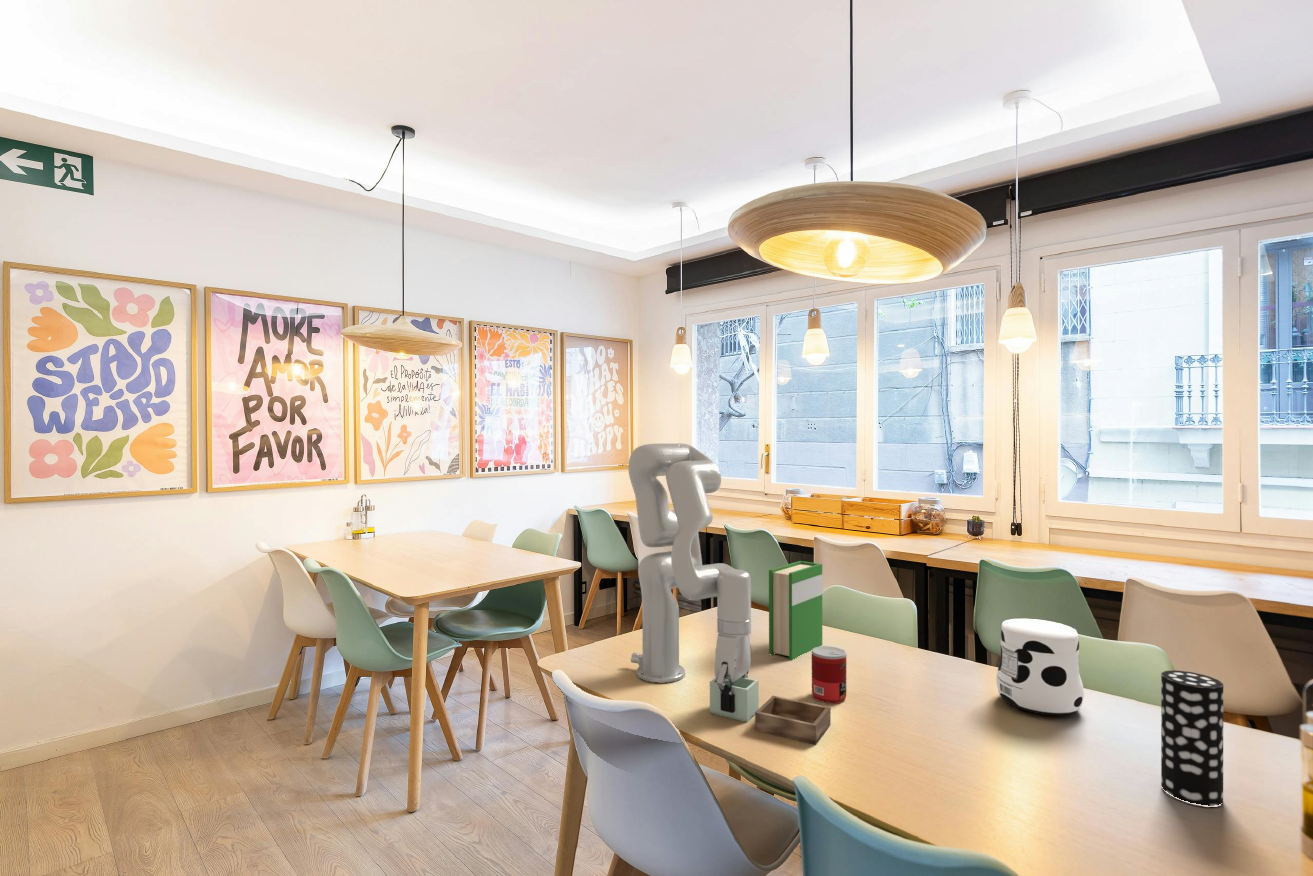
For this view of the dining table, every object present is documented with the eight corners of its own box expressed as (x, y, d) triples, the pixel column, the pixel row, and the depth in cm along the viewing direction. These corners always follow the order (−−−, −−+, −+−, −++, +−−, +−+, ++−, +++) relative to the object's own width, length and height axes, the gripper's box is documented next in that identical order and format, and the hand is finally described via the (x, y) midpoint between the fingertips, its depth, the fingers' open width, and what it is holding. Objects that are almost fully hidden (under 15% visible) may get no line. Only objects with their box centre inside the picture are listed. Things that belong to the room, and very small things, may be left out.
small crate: (709, 713, 148) (709, 682, 148) (722, 703, 154) (722, 673, 154) (747, 722, 144) (747, 690, 144) (758, 711, 149) (758, 680, 149)
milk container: (1091, 705, 152) (1090, 626, 152) (1074, 729, 140) (1074, 644, 139) (1008, 685, 164) (1008, 613, 164) (986, 707, 151) (986, 628, 151)
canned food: (847, 705, 153) (847, 657, 153) (812, 702, 154) (812, 655, 154) (845, 692, 160) (845, 647, 160) (811, 690, 162) (811, 645, 162)
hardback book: (792, 660, 183) (791, 573, 183) (769, 654, 188) (768, 570, 188) (822, 645, 196) (822, 564, 196) (800, 640, 201) (799, 561, 201)
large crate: (755, 730, 140) (755, 712, 140) (772, 712, 149) (772, 695, 149) (815, 744, 133) (815, 726, 133) (830, 725, 142) (830, 707, 142)
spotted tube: (1149, 783, 118) (1149, 671, 118) (1192, 781, 119) (1192, 669, 119) (1190, 809, 110) (1190, 689, 110) (1236, 807, 110) (1237, 687, 110)
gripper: (734, 614, 158) (734, 689, 158) (701, 633, 143) (702, 716, 143) (764, 618, 154) (764, 695, 154) (733, 638, 139) (734, 723, 139)
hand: (734, 704), depth 149 cm, fingers closed on small crate, 6 cm apart
